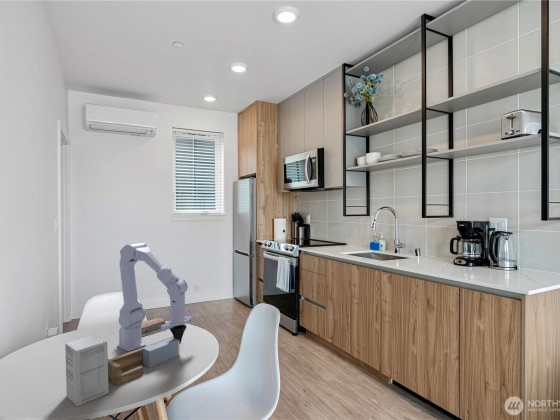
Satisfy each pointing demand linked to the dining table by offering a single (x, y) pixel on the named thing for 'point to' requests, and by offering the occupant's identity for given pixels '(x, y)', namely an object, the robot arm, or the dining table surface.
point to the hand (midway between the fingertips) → (178, 343)
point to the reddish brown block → (151, 326)
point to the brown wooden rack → (126, 366)
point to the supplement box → (86, 369)
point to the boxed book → (161, 352)
